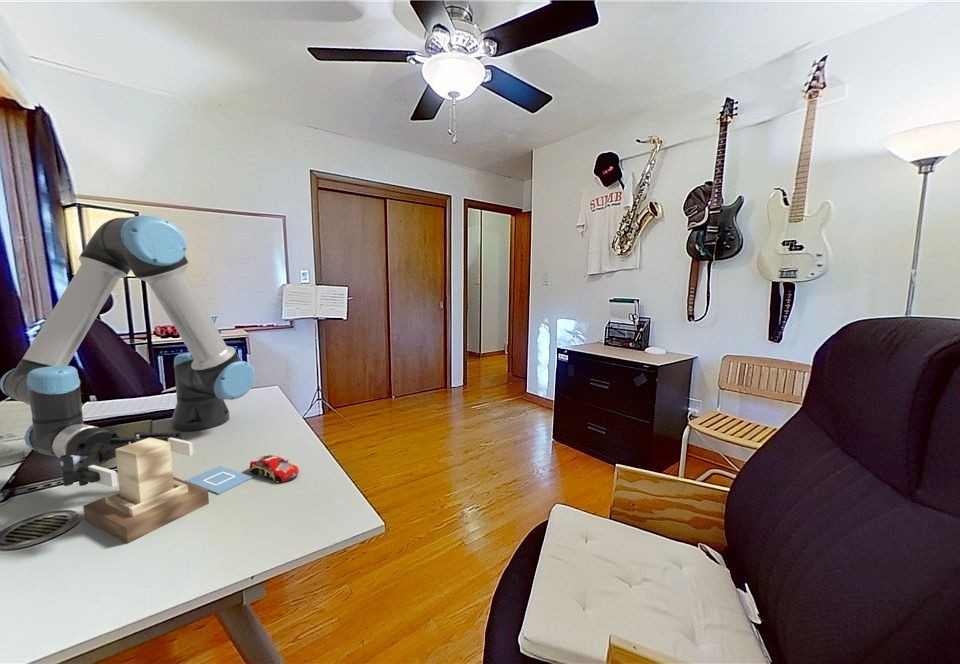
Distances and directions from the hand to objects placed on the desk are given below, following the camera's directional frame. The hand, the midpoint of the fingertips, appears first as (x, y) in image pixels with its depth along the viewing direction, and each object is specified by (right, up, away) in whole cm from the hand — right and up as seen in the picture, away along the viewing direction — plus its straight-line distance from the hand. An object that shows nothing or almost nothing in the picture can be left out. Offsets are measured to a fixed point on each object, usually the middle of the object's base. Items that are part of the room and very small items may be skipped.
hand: (156, 462), depth 77 cm
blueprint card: (+2, -9, +15) cm, 18 cm away
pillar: (-3, -8, +2) cm, 9 cm away
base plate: (-3, -11, +3) cm, 11 cm away
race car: (+13, -9, +19) cm, 25 cm away
